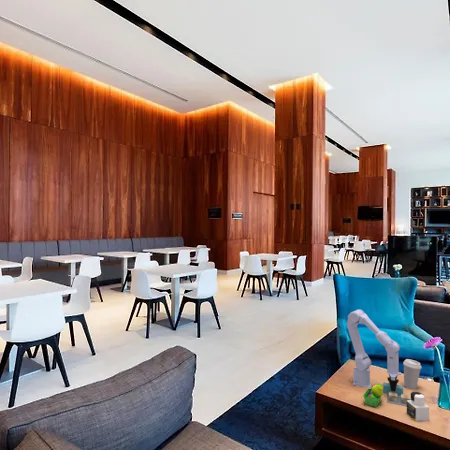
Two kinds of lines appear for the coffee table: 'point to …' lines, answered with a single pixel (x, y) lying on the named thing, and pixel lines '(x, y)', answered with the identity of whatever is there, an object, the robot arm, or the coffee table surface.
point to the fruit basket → (373, 395)
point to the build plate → (396, 402)
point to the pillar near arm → (392, 396)
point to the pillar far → (404, 398)
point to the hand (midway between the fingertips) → (393, 387)
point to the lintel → (387, 389)
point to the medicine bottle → (417, 407)
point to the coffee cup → (411, 373)
